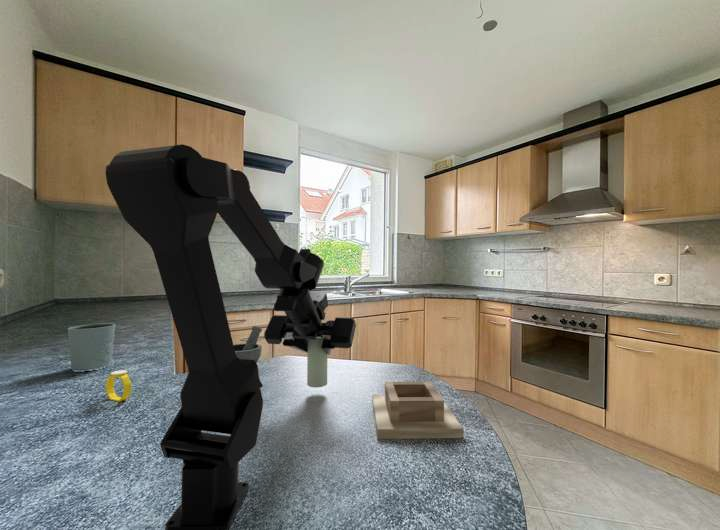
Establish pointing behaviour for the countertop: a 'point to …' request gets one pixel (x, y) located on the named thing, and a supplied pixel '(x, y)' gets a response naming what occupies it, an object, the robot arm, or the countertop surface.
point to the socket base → (413, 413)
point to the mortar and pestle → (250, 346)
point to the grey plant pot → (91, 345)
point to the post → (316, 363)
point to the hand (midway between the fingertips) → (319, 352)
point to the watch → (110, 383)
